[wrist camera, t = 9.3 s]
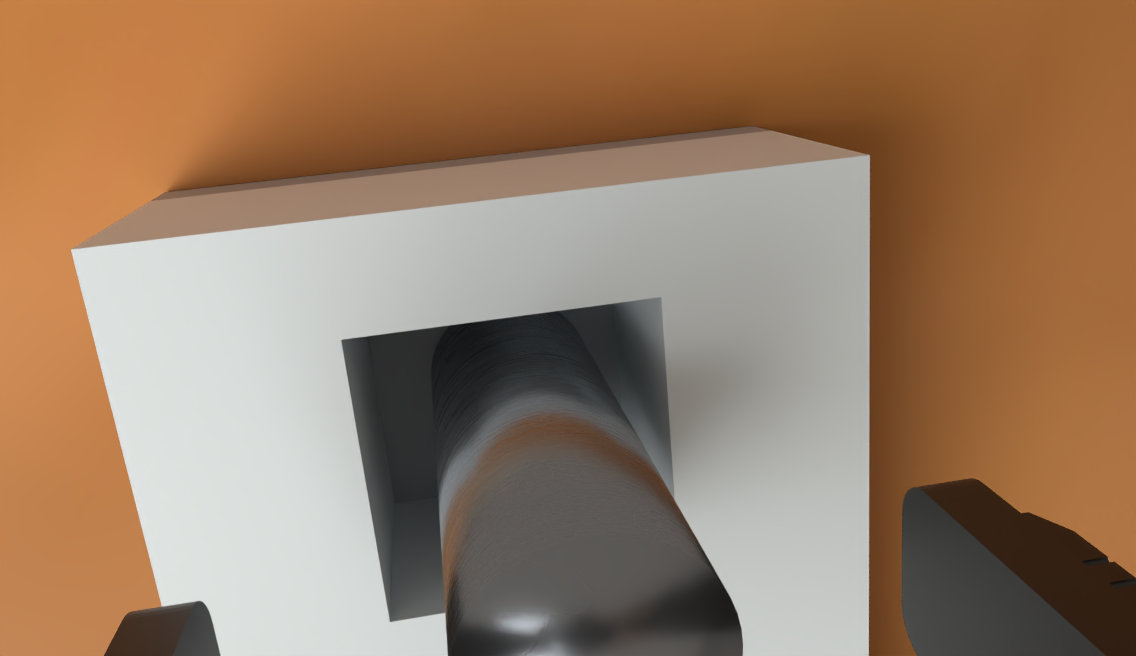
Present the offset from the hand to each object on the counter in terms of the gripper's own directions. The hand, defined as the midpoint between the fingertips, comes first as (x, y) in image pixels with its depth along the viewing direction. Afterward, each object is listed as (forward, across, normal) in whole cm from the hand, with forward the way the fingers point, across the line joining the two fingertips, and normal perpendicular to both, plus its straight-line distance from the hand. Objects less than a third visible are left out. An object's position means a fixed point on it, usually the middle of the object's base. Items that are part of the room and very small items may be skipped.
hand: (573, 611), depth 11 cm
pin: (+8, 0, 0) cm, 8 cm away
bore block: (+9, 0, +4) cm, 9 cm away
